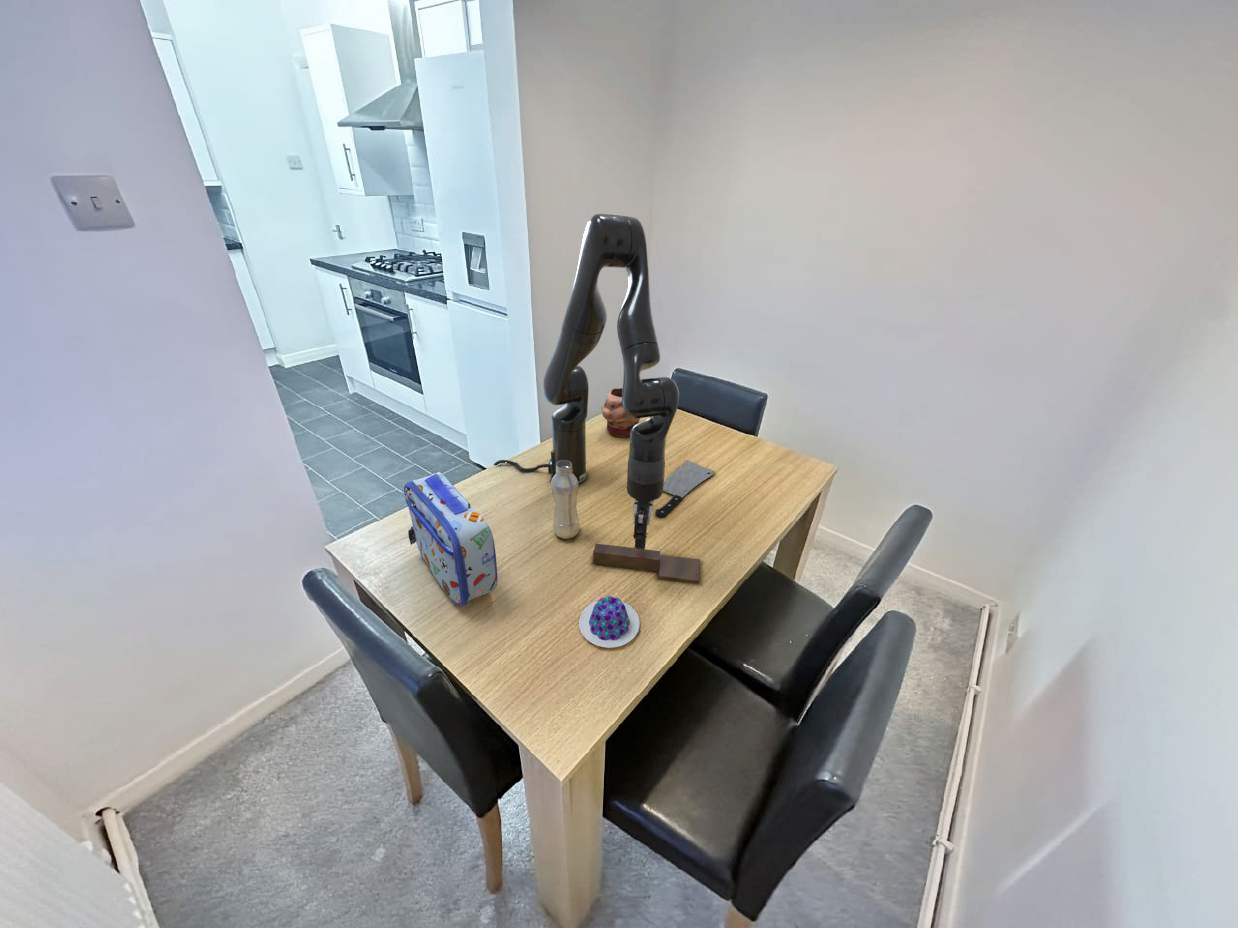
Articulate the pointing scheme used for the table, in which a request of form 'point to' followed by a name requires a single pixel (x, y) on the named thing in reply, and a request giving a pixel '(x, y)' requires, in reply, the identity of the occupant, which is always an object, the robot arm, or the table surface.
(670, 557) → the spatula
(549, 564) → the table surface
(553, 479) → the plastic bottle
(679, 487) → the cleaver
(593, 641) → the pudding
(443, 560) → the lunch box
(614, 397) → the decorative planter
